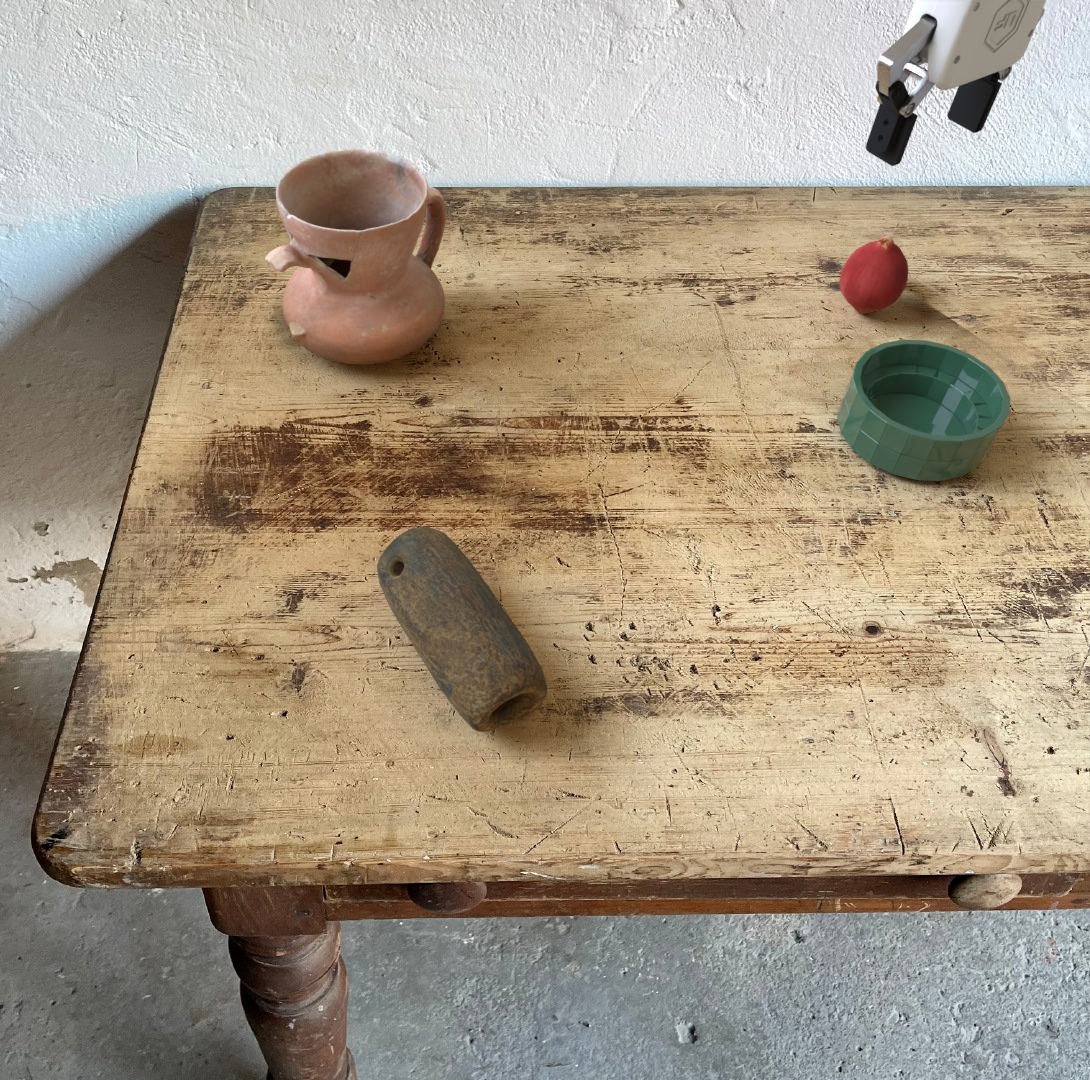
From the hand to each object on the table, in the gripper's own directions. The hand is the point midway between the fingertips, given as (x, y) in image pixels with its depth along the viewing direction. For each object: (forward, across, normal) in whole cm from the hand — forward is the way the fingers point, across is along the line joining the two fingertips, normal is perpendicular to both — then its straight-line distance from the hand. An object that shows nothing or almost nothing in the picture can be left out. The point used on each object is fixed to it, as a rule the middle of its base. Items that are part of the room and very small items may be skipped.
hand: (923, 141), depth 81 cm
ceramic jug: (+18, -40, +23) cm, 49 cm away
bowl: (+17, -9, -14) cm, 23 cm away
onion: (+17, 0, 0) cm, 17 cm away
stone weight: (+17, -53, -12) cm, 57 cm away
